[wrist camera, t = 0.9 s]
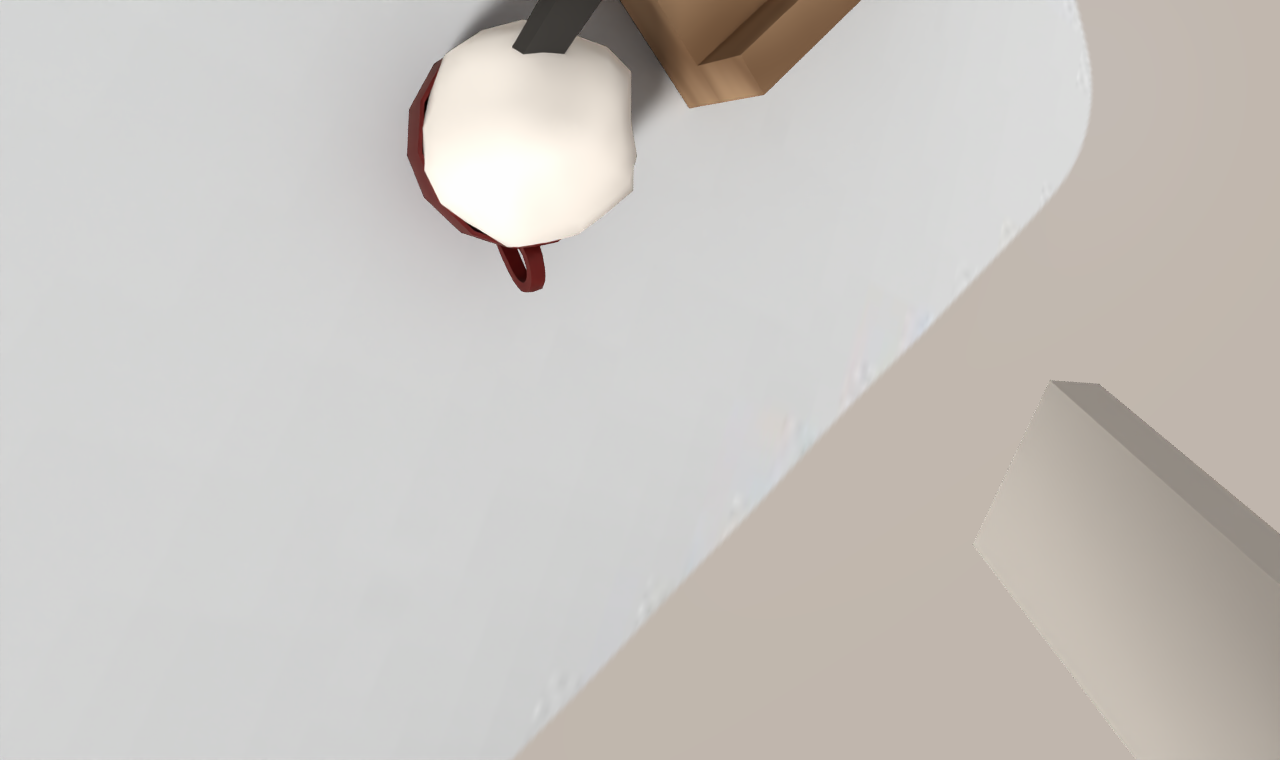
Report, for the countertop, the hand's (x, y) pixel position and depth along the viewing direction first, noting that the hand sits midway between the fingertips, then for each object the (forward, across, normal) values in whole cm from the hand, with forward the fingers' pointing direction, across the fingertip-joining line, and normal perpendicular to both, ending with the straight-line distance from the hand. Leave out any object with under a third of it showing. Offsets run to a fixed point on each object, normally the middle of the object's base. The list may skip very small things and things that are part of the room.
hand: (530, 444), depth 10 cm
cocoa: (+22, +1, -3) cm, 22 cm away
